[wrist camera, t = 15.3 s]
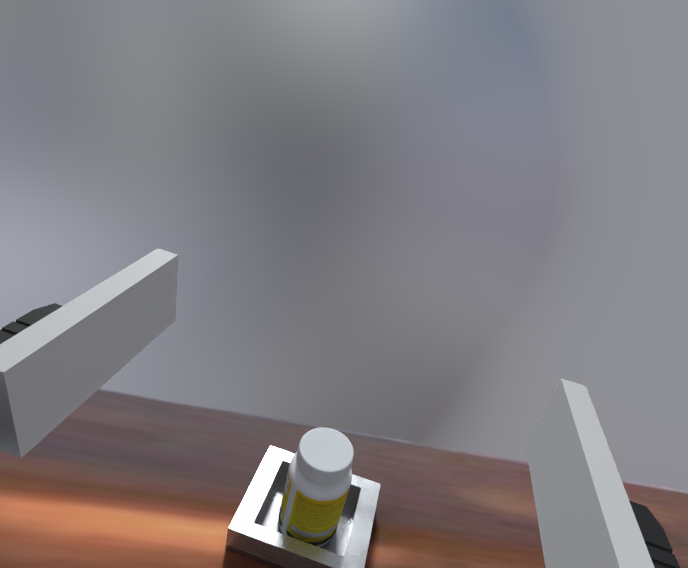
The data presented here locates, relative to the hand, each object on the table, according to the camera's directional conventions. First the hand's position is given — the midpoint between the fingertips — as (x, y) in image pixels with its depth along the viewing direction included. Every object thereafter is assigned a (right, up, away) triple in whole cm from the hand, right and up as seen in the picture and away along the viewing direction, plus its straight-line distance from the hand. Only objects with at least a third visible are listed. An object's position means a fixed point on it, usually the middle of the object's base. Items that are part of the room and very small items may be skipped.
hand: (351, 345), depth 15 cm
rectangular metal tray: (-3, -17, +21) cm, 27 cm away
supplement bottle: (-3, -17, +21) cm, 27 cm away
